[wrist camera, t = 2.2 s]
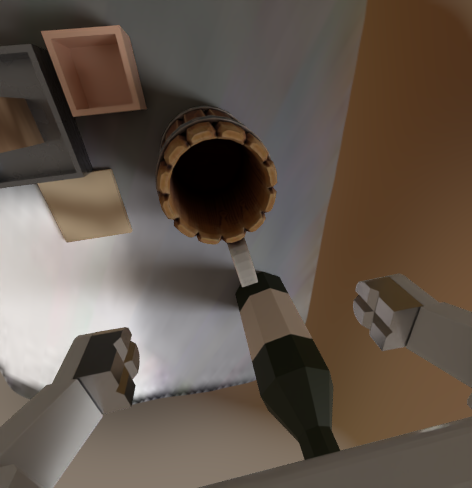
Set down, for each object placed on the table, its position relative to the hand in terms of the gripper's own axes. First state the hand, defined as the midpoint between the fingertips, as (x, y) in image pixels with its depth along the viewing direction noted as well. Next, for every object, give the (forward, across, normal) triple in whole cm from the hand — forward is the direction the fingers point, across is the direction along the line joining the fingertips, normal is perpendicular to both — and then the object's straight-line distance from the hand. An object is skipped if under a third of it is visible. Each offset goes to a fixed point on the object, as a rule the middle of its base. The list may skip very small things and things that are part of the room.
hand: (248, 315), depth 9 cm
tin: (+25, +18, -7) cm, 32 cm away
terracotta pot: (+25, +8, -10) cm, 28 cm away
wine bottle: (+25, -6, +21) cm, 33 cm away
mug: (+25, -1, +1) cm, 25 cm away
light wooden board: (+25, +15, +3) cm, 29 cm away
